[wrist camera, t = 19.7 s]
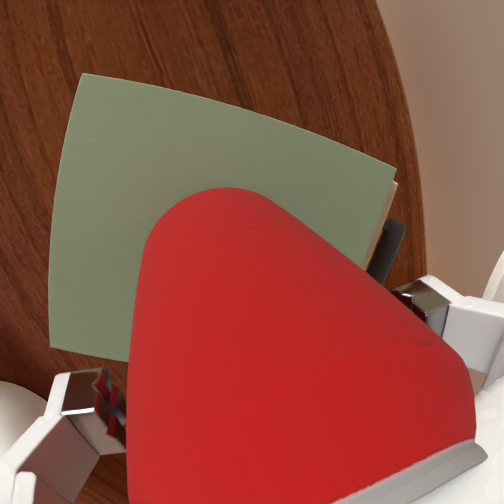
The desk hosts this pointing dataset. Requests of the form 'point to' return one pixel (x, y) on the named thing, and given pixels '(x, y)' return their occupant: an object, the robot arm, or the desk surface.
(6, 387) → the cup
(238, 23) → the desk surface
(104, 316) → the cabinet
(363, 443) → the beverage can
